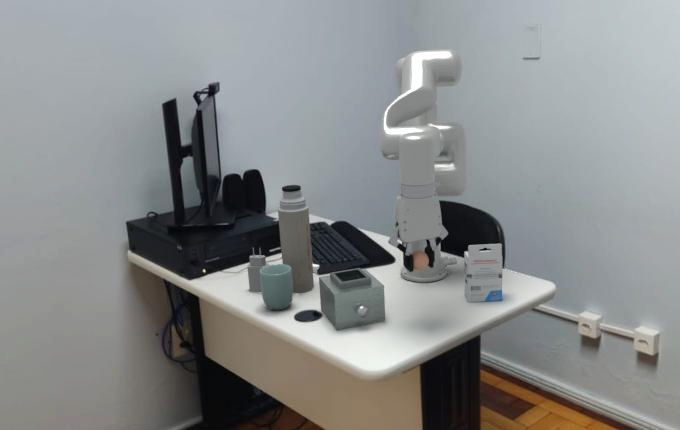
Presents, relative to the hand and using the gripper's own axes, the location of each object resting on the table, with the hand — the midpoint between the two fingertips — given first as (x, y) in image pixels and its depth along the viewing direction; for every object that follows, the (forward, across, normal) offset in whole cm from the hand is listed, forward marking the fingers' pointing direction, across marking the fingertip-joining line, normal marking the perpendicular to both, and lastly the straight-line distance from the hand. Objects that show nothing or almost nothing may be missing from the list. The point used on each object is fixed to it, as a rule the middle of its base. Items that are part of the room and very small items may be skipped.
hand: (419, 267), depth 140 cm
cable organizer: (+15, +17, -44) cm, 49 cm away
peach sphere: (+1, 0, 0) cm, 1 cm away
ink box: (+14, -19, -5) cm, 24 cm away
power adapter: (+14, +31, -35) cm, 48 cm away
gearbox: (+13, +14, -9) cm, 21 cm away
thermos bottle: (+14, +21, -32) cm, 40 cm away
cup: (+14, +29, -22) cm, 38 cm away
